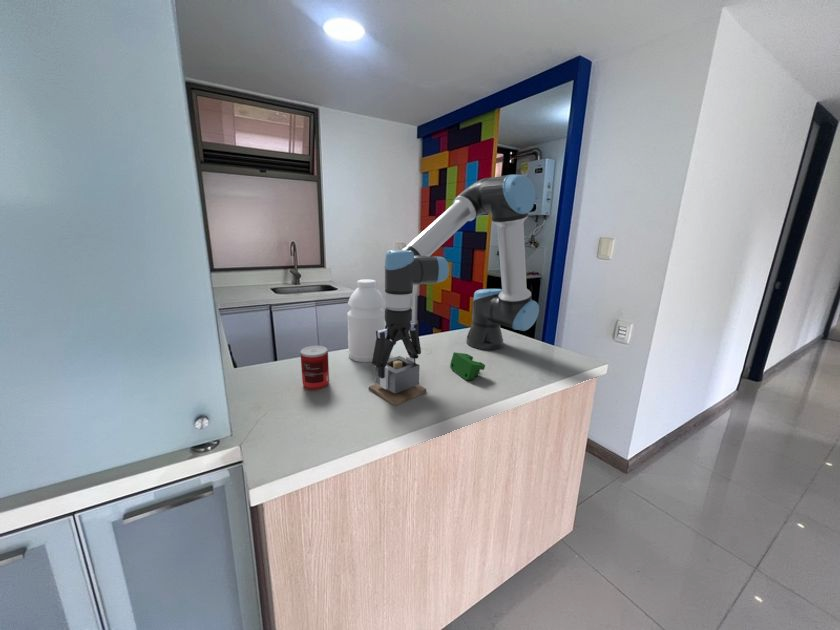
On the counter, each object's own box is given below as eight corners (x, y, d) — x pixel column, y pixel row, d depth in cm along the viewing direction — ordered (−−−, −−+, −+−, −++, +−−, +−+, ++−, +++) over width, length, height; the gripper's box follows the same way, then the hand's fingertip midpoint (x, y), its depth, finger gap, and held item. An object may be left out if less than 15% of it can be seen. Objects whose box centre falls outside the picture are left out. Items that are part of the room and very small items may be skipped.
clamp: (475, 389, 110) (489, 370, 106) (461, 388, 107) (474, 368, 103) (461, 363, 119) (473, 344, 114) (447, 362, 116) (459, 342, 112)
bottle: (393, 353, 127) (394, 280, 119) (372, 366, 115) (371, 285, 107) (363, 346, 133) (362, 276, 125) (340, 357, 121) (337, 281, 114)
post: (399, 377, 106) (400, 351, 104) (426, 391, 98) (427, 363, 96) (368, 389, 98) (368, 361, 96) (394, 405, 90) (394, 375, 88)
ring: (399, 373, 104) (399, 355, 102) (418, 384, 97) (419, 365, 96) (375, 382, 98) (375, 363, 96) (395, 393, 91) (395, 373, 90)
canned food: (321, 376, 106) (319, 343, 103) (334, 385, 101) (332, 350, 98) (297, 383, 101) (295, 349, 98) (310, 393, 95) (308, 357, 93)
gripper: (418, 300, 102) (415, 368, 107) (357, 310, 87) (358, 389, 93) (435, 304, 96) (432, 376, 102) (374, 316, 82) (374, 399, 88)
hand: (397, 382), depth 97 cm, fingers closed on ring, 9 cm apart
